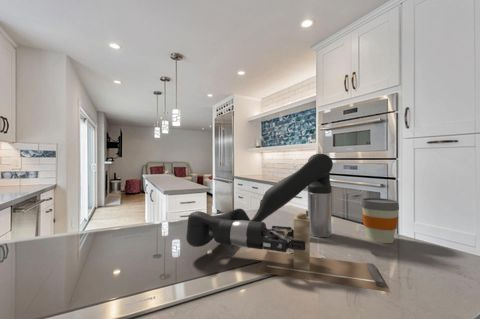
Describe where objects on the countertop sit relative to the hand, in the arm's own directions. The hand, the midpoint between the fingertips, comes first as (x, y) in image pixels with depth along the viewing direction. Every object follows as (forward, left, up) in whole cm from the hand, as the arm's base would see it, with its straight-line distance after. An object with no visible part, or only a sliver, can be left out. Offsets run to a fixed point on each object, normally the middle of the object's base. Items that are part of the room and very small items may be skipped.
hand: (306, 240), depth 62 cm
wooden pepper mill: (-1, -1, -7) cm, 7 cm away
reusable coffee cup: (-2, +45, -9) cm, 46 cm away
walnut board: (+2, +2, -9) cm, 9 cm away
